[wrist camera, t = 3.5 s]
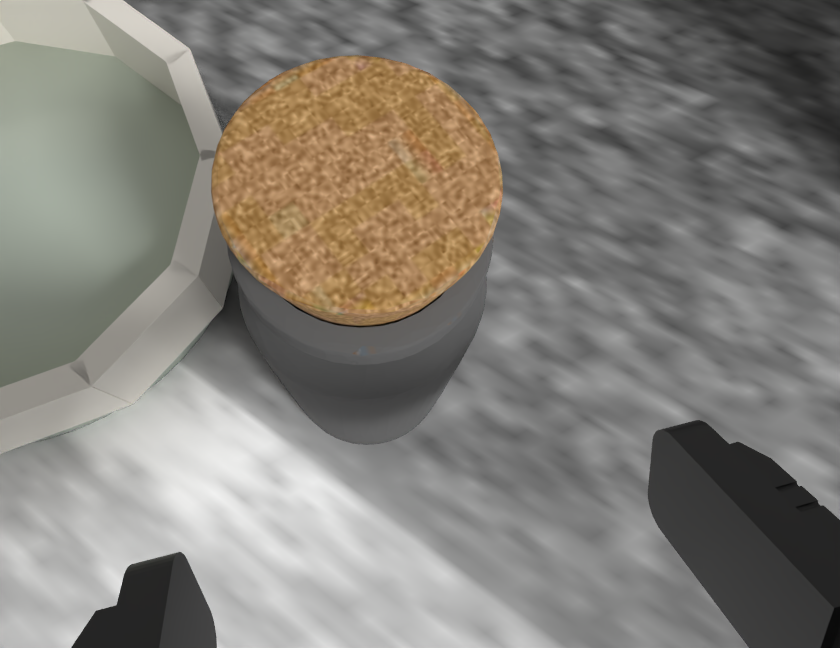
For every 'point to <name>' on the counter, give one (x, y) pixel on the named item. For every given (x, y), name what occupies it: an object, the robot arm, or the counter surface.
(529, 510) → the counter surface
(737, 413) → the counter surface
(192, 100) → the dish
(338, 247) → the bottle
